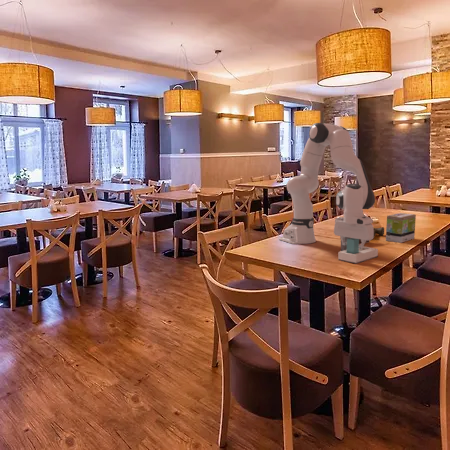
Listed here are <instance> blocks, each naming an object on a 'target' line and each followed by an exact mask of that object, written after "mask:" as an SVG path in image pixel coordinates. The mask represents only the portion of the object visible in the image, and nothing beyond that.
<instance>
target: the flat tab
mask: <svg viewBox="0 0 450 450" xmlns="http://www.w3.org/2000/svg"><path fill="white" fill-rule="evenodd" d="M344 239H345V241H346V242H347V239H349V237H345V238H344ZM344 250H347V245H346V246H344V245H342V241H341V240H340V251H344Z"/></svg>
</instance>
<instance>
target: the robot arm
mask: <svg viewBox="0 0 450 450" xmlns="http://www.w3.org/2000/svg"><path fill="white" fill-rule="evenodd" d="M328 146H329V147H330V148H329V150H330V158H331V161H332V163H333V165H334V166H336V167H338V168H339V169H343V170H346V171H348V172H351V173H352V174H354V175H355V178H356V179H357V183H358V184H357V183H349V184H347V185H345V186H344V189H342V190H339V191H338V192H337V194H336V195H335V206H337V207H338V208H339V209H340V210H343V216H337V217H336V218H335V219H334V227H333V234H334V236H339V238H340V242H341V241H342V245H344V246H346V245H347V242H346V241H345V239H344V238H345V237H349V238H355V239H361V242H362V243H361V244H359V248H360V249H363V248H364V247H365V244H366V243H365V242H366V240H367V241H369V242H370V241H371V240H373V239H374V238H375V236H374V229H373V228H374V225H373V222H374V221H373V218H371V217H369V216H367V215H365V214H364V210H369V209H371V208H372V207H373V206H374V205H375V203H376V198H375V193H374V191H373V189H372V187H371V184H370V181H369V177H368V175H367V171H366V168H365V166H364V163H363V161H362V160H361V159H360V158H359V157H357V155H356V154H355V151H354V147H353V142H352V138H351V135H350V132H349V130H348V129H347V128H346V127H344V126H341V125H336V124H334V123H333V124H332V123H322V122H316V123H313V124H312V125H311V127H310V128H309V132H308V139H307V141H306V143H305V146H304V149H303V152H302V154H301V159H300V161H299V165H300V174H299V175H296V176H293V177H291V178H290V179H288V181H287V182H286V190H287V192H288V193H289V194H290V197H291V200H292V203H293V204H292V205H293V218H291V219H290V220H289V221H290V222H291V224H290V225H288V226H287V227H286V228H285V229H283V234H282V236H281V237H279V238H278V240H279V241H283V242H285V243H289V244H292V245H299V244H302V245H303V244H304V245H306V244H313V243H316V241H317V240H316V236H315V230H314V224H315V222H314V221H315V219H314V205H313V203H312V201H311V198H310V194H311V193H313V192H314V191H316V190H317V189H318V188H319V186H320V181H319V169H320V166H321V163H322V160H323V156H324V154H325V149H326V148H327V147H328ZM373 237H374V238H373Z"/></svg>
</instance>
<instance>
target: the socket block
mask: <svg viewBox="0 0 450 450" xmlns="http://www.w3.org/2000/svg"><path fill="white" fill-rule="evenodd" d="M337 255H338V256H337V257H338V258H337V259H338V261H341V262H347V263H350V264H355V265H356V264H360V263H363V262H366V261H369V260H372V259H374V258H378V256H379V249H378V248H374V247H369V246H364V248H363V249H360V248H359V253H356V254H351V253H347V250H344V251H341V250H340V251H338V254H337Z"/></svg>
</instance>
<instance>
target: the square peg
mask: <svg viewBox="0 0 450 450" xmlns="http://www.w3.org/2000/svg"><path fill="white" fill-rule="evenodd" d="M359 245H360V244H359V239H355V238H349V239H347V253H351V254H356V253H359Z"/></svg>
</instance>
